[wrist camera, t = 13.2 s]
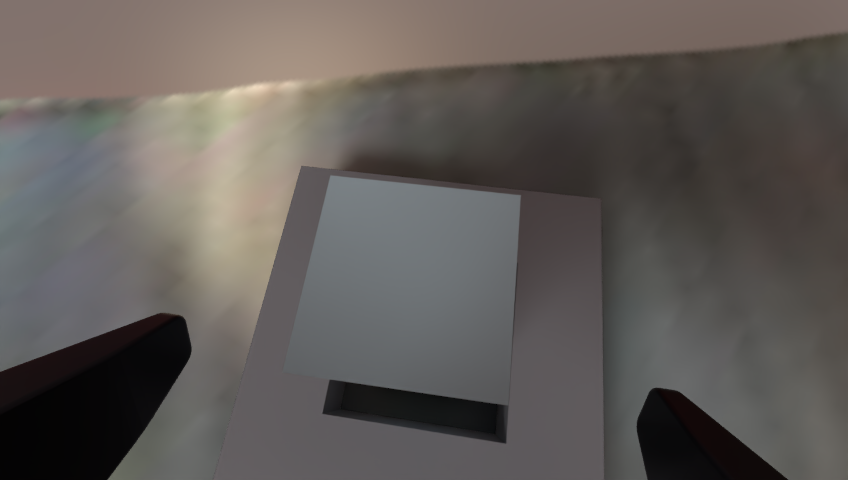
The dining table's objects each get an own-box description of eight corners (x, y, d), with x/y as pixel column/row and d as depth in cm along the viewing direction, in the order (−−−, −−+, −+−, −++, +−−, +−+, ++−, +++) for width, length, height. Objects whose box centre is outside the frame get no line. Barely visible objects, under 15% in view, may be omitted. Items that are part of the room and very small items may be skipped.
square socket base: (575, 543, 16) (605, 577, 13) (244, 483, 17) (205, 503, 14) (578, 224, 21) (601, 198, 18) (319, 194, 22) (301, 165, 19)
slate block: (464, 391, 18) (508, 406, 7) (379, 379, 18) (282, 372, 7) (472, 305, 19) (520, 195, 8) (392, 295, 20) (330, 175, 8)
